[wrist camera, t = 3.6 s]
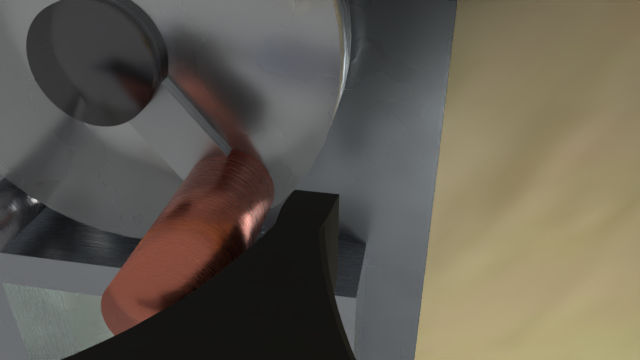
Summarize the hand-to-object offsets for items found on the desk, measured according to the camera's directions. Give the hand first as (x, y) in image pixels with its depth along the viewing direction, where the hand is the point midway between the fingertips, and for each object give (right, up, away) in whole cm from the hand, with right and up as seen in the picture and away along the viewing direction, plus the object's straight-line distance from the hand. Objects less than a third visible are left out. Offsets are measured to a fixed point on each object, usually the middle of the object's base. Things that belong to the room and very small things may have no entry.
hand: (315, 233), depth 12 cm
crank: (-4, +4, +1) cm, 6 cm away
